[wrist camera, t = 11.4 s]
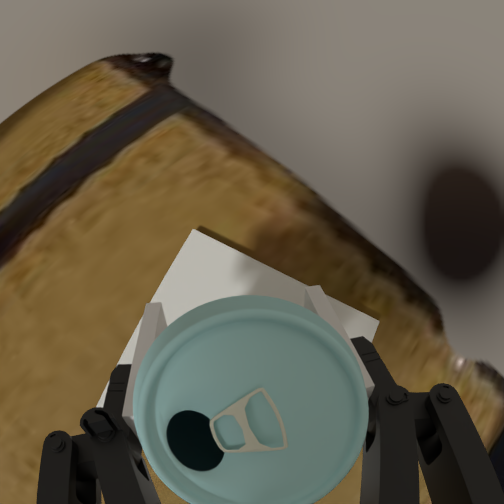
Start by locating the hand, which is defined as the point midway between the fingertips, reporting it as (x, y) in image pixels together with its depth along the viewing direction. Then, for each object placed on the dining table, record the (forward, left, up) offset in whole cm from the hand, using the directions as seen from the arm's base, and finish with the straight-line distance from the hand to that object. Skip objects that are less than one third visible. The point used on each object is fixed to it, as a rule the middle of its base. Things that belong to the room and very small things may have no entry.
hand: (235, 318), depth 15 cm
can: (+2, -3, -4) cm, 6 cm away
